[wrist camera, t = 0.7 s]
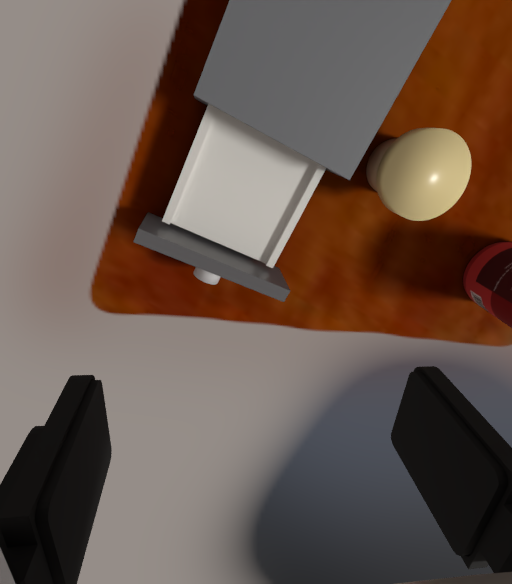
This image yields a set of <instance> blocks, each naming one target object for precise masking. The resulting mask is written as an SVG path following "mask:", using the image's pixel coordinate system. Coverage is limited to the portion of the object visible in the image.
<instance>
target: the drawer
mask: <svg viewBox="0 0 512 584" xmlns="http://www.w3.org/2000/svg"><path fill="white" fill-rule="evenodd" d="M325 170H326V167H324V166H322V165H320V164H318V163H316V162H315V161H313V160H311V159H309V158H307V157H305V156H304V155H302V154H300V153H298V152H296V151H294V150H293V149H291V148H289V147H287V146H285V145H283V144H282V143H280V142H278V141H276V140H274V139H272V138H271V137H269V136H267V135H265V134H263V133H262V132H260V131H258V130H256V129H254V128H252V127H251V126H249V125H247V124H245V123H243V122H241V121H240V120H238V119H236V118H234V117H232V116H230V115H229V114H227V113H225V112H223V111H221V110H219V109H218V108H216V107H214V106H212V105H210V104H208V106H207V109H206V111H205V114H204V116H203V119H202V121H201V124H200V126H199V129H198V131H197V134H196V136H195V139H194V141H193V144H192V147H191V149H190V152H189V154H188V157H187V159H186V162H185V164H184V167H183V169H182V172H181V174H180V177H179V179H178V182H177V184H176V187H175V189H174V192H173V194H172V197H171V199H170V202H169V205H168V207H167V210H166V212H165V215H164V217H163V218H161V217H158V216H156V215H154V214H151V213H149V212H148V213H147V215H146V217H145V218H144V220H143V222H142V223H141V225H140V227H139V228H138V231H137V234H136V236H135V239H134V242H135V243H137V244H140V245H142V246H145V247H147V248H150V249H152V250H155V251H157V252H160V253H162V254H165V255H167V256H170V257H172V258H175V259H177V260H180V261H182V262H185V263H187V264H190V265H192V266H195V267H196V268H195V270H194V275H195V276H196V277H197V278H198V279H199V280H201V281H203V282H205V283H208V284H213V285H215V284H217V283H218V281H219V279H220V277H222V278H225V279H227V280H230V281H232V282H235V283H237V284H240V285H242V286H245V287H248V288H250V289H253V290H255V291H258V292H260V293H263V294H265V295H268V296H270V297H273V298H275V299H278V300H280V301H283V302H284V301H285V299H286V297H287V296H288V294H289V292H290V289H289V287H288V285H287V283H286V281H285V279H284V277H283V275H282V273H281V271H280V269H279V268H277V267H275V266H274V265H275V263H276V261H277V259H278V257H279V256H280V254H281V252H282V250H283V248H284V246H285V244H286V243H287V241H288V239H289V237H290V235H291V233H292V231H293V229H294V228H295V226H296V224H297V222H298V220H299V218H300V216H301V215H302V213H303V211H304V209H305V207H306V205H307V203H308V201H309V200H310V198H311V196H312V194H313V192H314V190H315V188H316V187H317V185H318V183H319V181H320V179H321V177H322V175H323V174H324V172H325Z"/></svg>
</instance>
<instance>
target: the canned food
mask: <svg viewBox="0 0 512 584" xmlns="http://www.w3.org/2000/svg"><path fill="white" fill-rule="evenodd" d="M463 285H464V289H465V291H466V293H467V294H468V296H469V297H470V298H471V299H472V300H473V301H474V302H475V303H476V304H478V305H479V306H481V307H482V308H484V309H485V310H487V311H488V312H489V313H491V314H492V315H494V316H495V317H497V318H498V319H500V320H501V321H502V322H504V323H505V324H507V325H508V326H510V327H511V328H512V242H498V243H494V244H491V245H489V246H487V247H485V248H483V249H482V250H480V251H479V252H478V253H477V254H476V255H475V256H474V257H473V258H472V259H471V260H470V262H469V263H468V265H467V267H466V269H465V272H464V276H463Z"/></svg>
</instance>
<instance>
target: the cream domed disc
mask: <svg viewBox="0 0 512 584" xmlns="http://www.w3.org/2000/svg"><path fill="white" fill-rule="evenodd" d="M470 173H471V155H470V151H469V149H468V146H467V144H466V143H465V141H464V140H463V139H462V138H461V137H460V136H459V135H458V134H457V133H455V132H453V131H451V130H448V129H442V128H418V129H414V130H411V131H409V132H406V133H405V134H403V135H401V136H400V137H399V138H397V139H396V140H395V141H394V142H393V143H392V144H391V145H390V146H389V148H388V149H387V150H386V152H385V153H384V155H383V157H382V159H381V161H380V164H379V167H378V170H377V176H376V185H377V191H378V195H379V197H380V199H381V201H382V203H383V204H384V205H385V206H386V207H387V208H388V209H389V210H391V211H392V212H394V213H396V214H398V215H400V216H402V217H404V218H406V219H409V220H414V221H424V220H429V219H432V218H435V217H437V216H439V215H441V214H443V213H444V212H446V211H447V210H448V209H450V208H451V207H452V206H453V205H454V204H455V203H456V202H457V201H458V199H459V198H460V197H461V195H462V193H463V192H464V190H465V188H466V186H467V183H468V181H469V177H470Z"/></svg>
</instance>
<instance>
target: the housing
mask: <svg viewBox="0 0 512 584" xmlns="http://www.w3.org/2000/svg"><path fill="white" fill-rule="evenodd" d="M450 2H451V0H229V3H228V6H227V8H226V11H225V13H224V16H223V19H222V21H221V24H220V27H219V29H218V32H217V34H216V37H215V40H214V42H213V45H212V48H211V50H210V53H209V56H208V58H207V61H206V63H205V66H204V69H203V71H202V74H201V77H200V79H199V82H198V85H197V87H196V90H195V92H194V97H195V99H197V100H198V101H200V102H202V103H204V104H206V105H208V104H210V105H212V106H214V107H216V108H218V109H219V110H221V111H223V112H225V113H227V114H229V115H230V116H232V117H234V118H236V119H238V120H240V121H241V122H243V123H245V124H247V125H249V126H251V127H252V128H254V129H256V130H258V131H260V132H262V133H263V134H265V135H267V136H269V137H271V138H272V139H274V140H276V141H278V142H280V143H282V144H283V145H285V146H287V147H289V148H291V149H293V150H294V151H296V152H298V153H300V154H302V155H304V156H305V157H307V158H309V159H311V160H313V161H315V162H316V163H318V164H320V165H322V166H324V167H326V170H327V171H329V172H332V173H334V174H336V175H339V176H341V177H343V178H346V179H348V180H350V179H351V177H352V175H353V173H354V172H355V170H356V168H357V166H358V164H359V163H360V161H361V159H362V157H363V156H364V154H365V152H366V150H367V149H368V147H369V145H370V143H371V141H372V140H373V138H374V136H375V134H376V133H377V131H378V129H379V127H380V126H381V124H382V122H383V120H384V118H385V117H386V115H387V113H388V111H389V110H390V108H391V106H392V104H393V103H394V101H395V99H396V97H397V95H398V94H399V92H400V90H401V88H402V87H403V85H404V83H405V81H406V80H407V78H408V76H409V74H410V73H411V71H412V69H413V67H414V65H415V64H416V62H417V60H418V58H419V57H420V55H421V53H422V51H423V50H424V48H425V46H426V44H427V42H428V41H429V39H430V37H431V35H432V34H433V32H434V30H435V28H436V27H437V25H438V23H439V21H440V19H441V18H442V16H443V14H444V12H445V11H446V9H447V7H448V5H449V4H450Z"/></svg>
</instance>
